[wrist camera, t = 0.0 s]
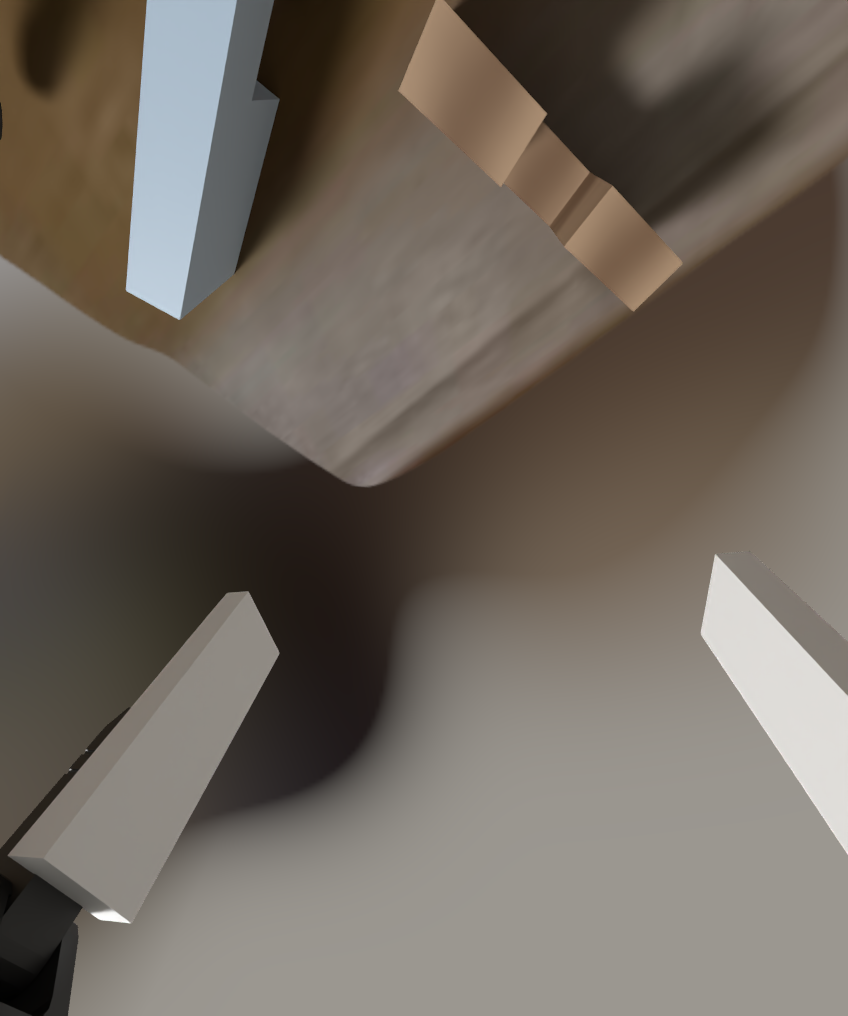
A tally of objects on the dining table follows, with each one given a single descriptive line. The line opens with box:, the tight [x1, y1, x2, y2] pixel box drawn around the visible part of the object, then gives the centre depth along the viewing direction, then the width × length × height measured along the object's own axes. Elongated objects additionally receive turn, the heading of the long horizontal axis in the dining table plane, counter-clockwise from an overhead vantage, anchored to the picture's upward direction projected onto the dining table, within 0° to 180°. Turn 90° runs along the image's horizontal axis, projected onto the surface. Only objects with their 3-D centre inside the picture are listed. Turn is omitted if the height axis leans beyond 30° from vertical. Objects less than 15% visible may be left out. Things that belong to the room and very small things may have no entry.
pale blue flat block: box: [126, 0, 280, 320], centre depth 21 cm, size 18×3×9 cm, turn 147°
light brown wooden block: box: [399, 0, 683, 311], centre depth 22 cm, size 16×3×9 cm, turn 57°
